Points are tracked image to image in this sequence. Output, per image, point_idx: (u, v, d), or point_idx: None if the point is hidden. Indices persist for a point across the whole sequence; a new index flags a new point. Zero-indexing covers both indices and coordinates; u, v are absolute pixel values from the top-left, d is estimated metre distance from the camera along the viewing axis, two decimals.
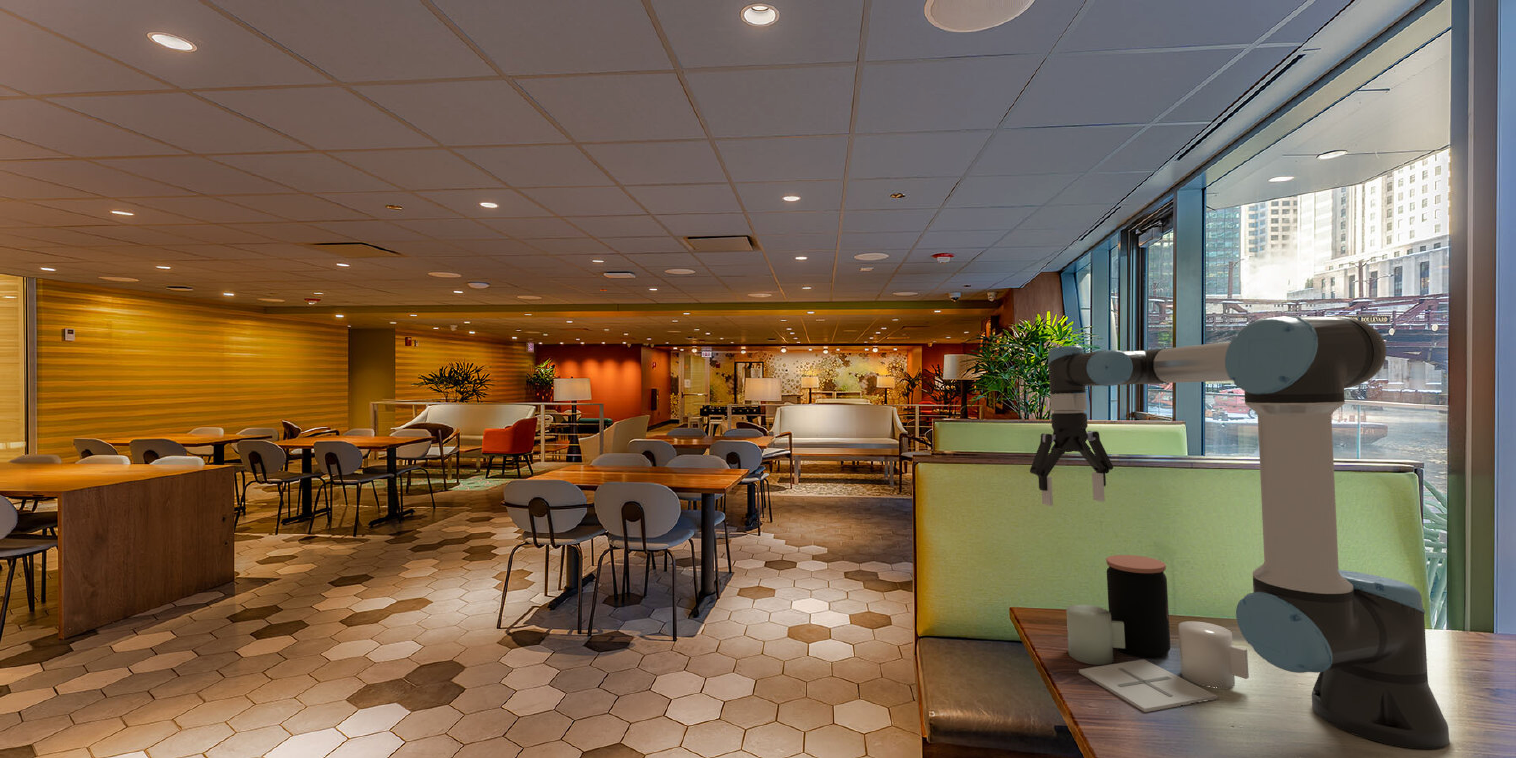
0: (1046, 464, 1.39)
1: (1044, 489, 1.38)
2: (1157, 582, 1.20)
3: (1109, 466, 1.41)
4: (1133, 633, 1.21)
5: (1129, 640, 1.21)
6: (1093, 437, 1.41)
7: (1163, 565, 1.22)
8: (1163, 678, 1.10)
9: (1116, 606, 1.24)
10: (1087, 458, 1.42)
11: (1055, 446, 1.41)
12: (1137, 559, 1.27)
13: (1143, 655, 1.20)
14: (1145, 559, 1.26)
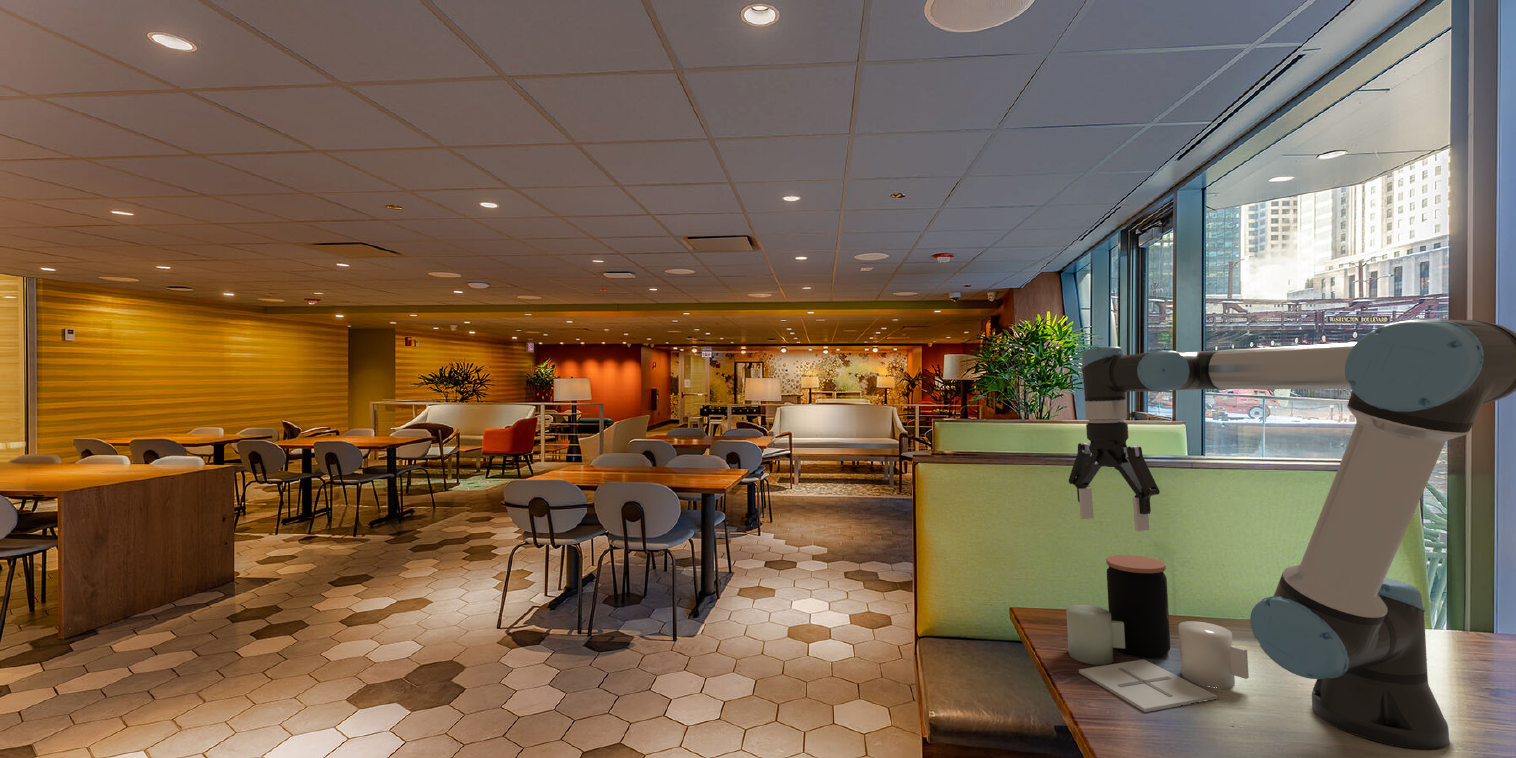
0: None
1: (1079, 501, 1.32)
2: (1157, 582, 1.20)
3: (1145, 491, 1.15)
4: (1133, 633, 1.21)
5: (1129, 640, 1.21)
6: None
7: (1163, 565, 1.22)
8: (1163, 678, 1.10)
9: (1115, 606, 1.24)
10: None
11: None
12: (1137, 559, 1.27)
13: (1143, 655, 1.20)
14: (1145, 559, 1.26)
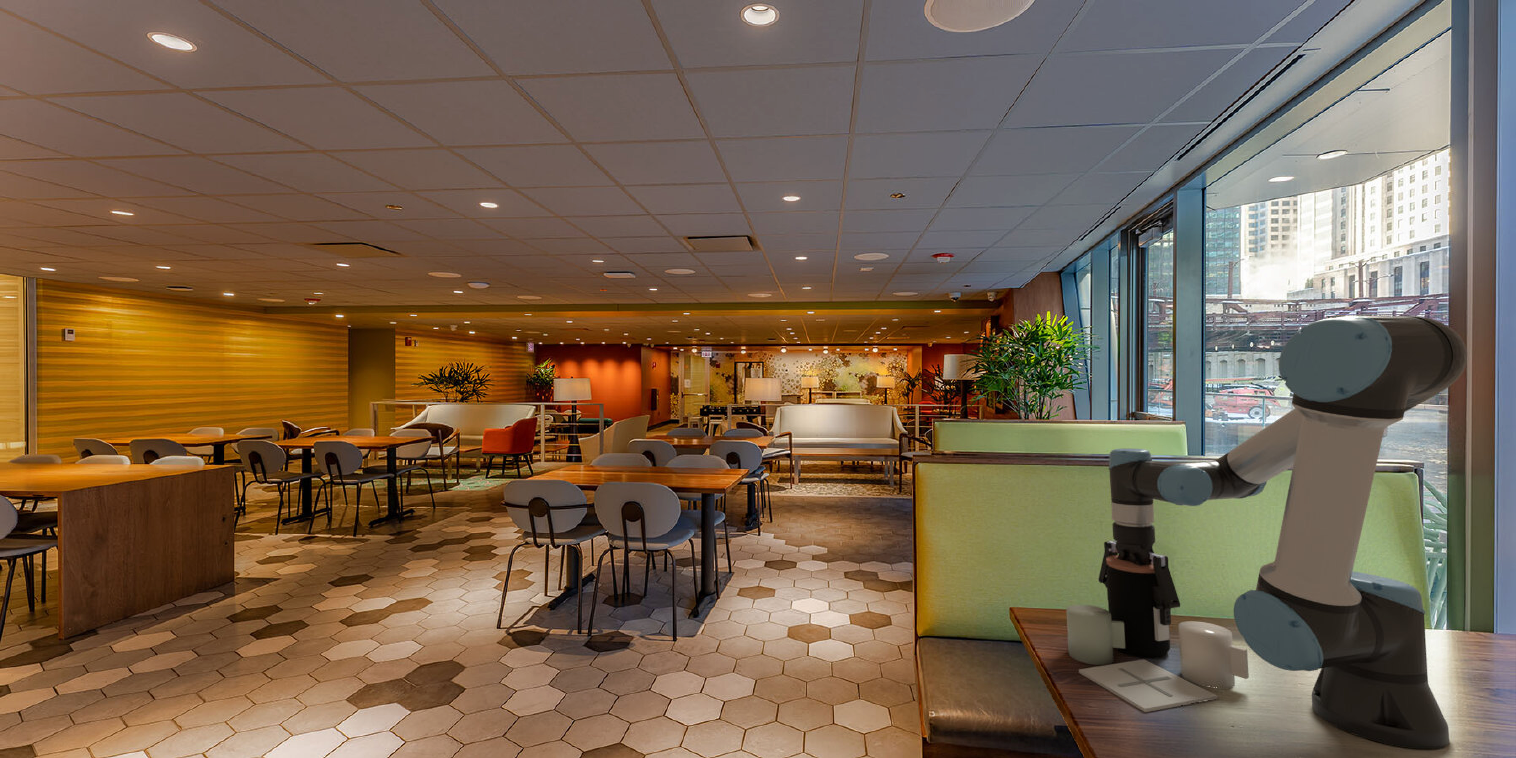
0: None
1: None
2: (1157, 582, 1.20)
3: (1165, 603, 1.17)
4: (1133, 633, 1.21)
5: (1129, 640, 1.21)
6: (1153, 561, 1.20)
7: None
8: (1163, 678, 1.10)
9: (1115, 606, 1.24)
10: None
11: None
12: None
13: (1143, 655, 1.20)
14: None
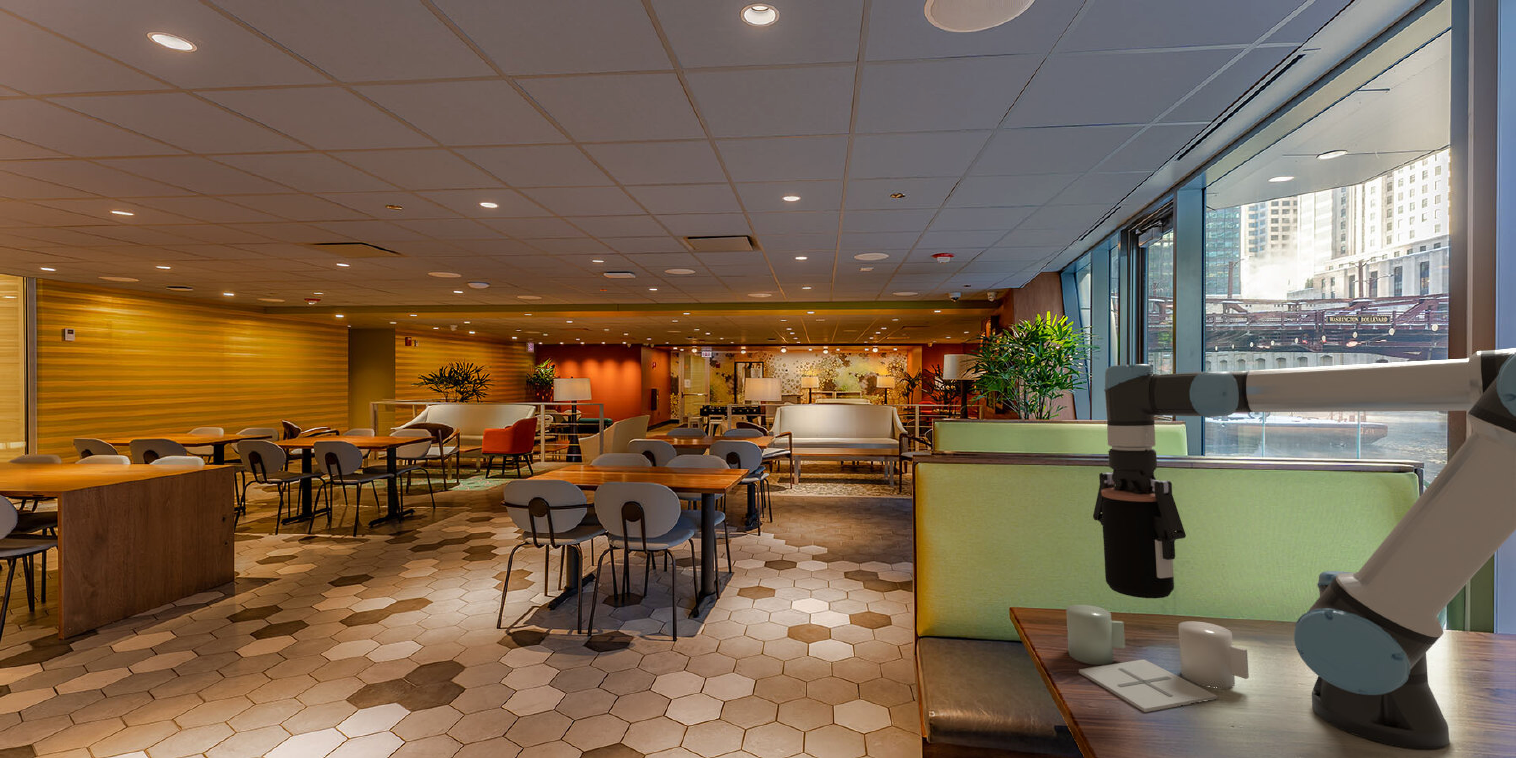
0: None
1: None
2: (1158, 511, 1.05)
3: (1168, 533, 1.02)
4: (1132, 570, 1.06)
5: (1127, 579, 1.07)
6: None
7: None
8: (1163, 678, 1.10)
9: (1112, 542, 1.09)
10: None
11: None
12: None
13: (1143, 595, 1.06)
14: None
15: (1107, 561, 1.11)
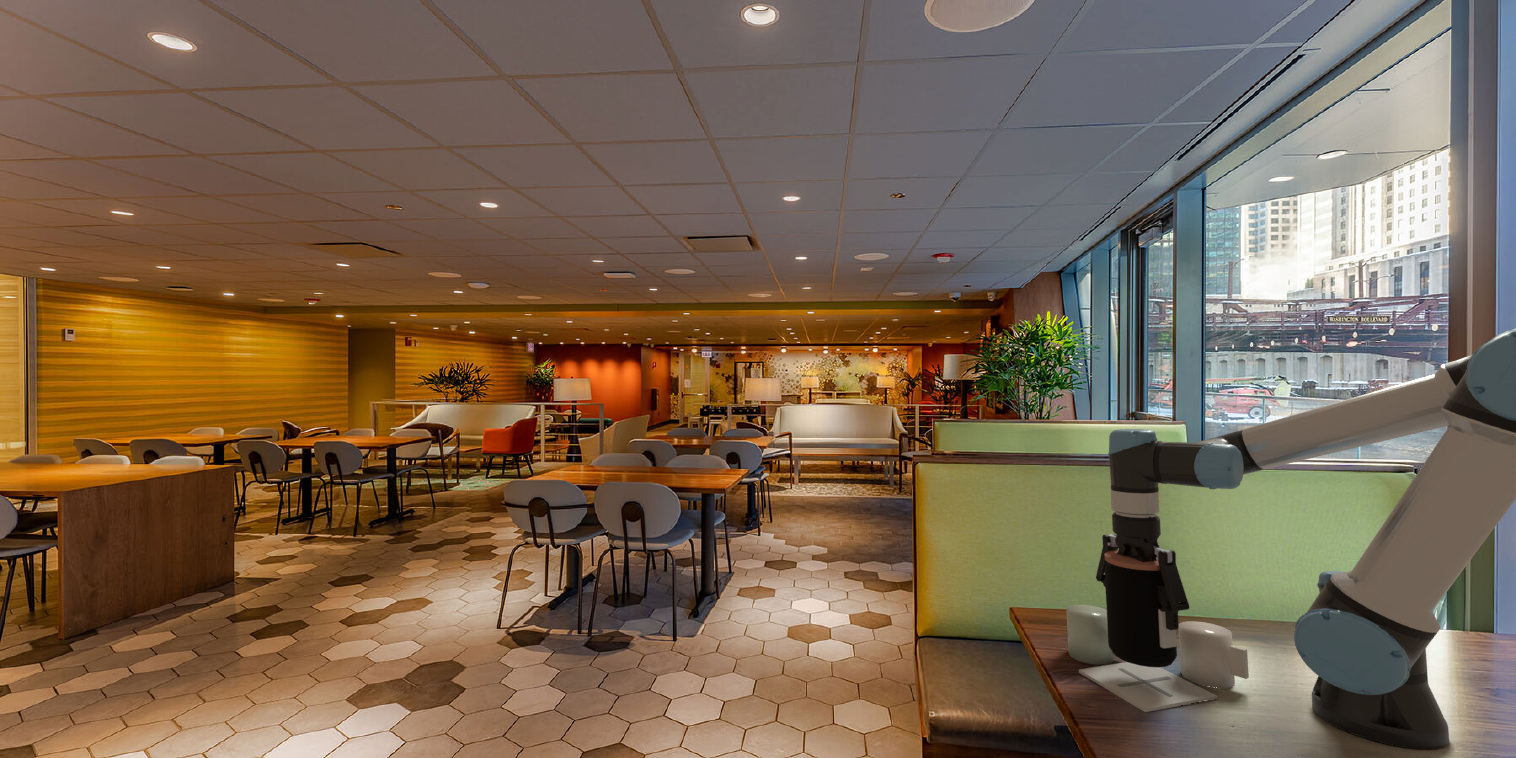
0: None
1: None
2: (1162, 580, 1.05)
3: (1172, 605, 1.02)
4: (1135, 639, 1.06)
5: (1130, 647, 1.06)
6: (1158, 557, 1.05)
7: None
8: (1163, 678, 1.10)
9: (1115, 608, 1.09)
10: None
11: None
12: None
13: (1146, 664, 1.05)
14: None
15: (1110, 626, 1.10)
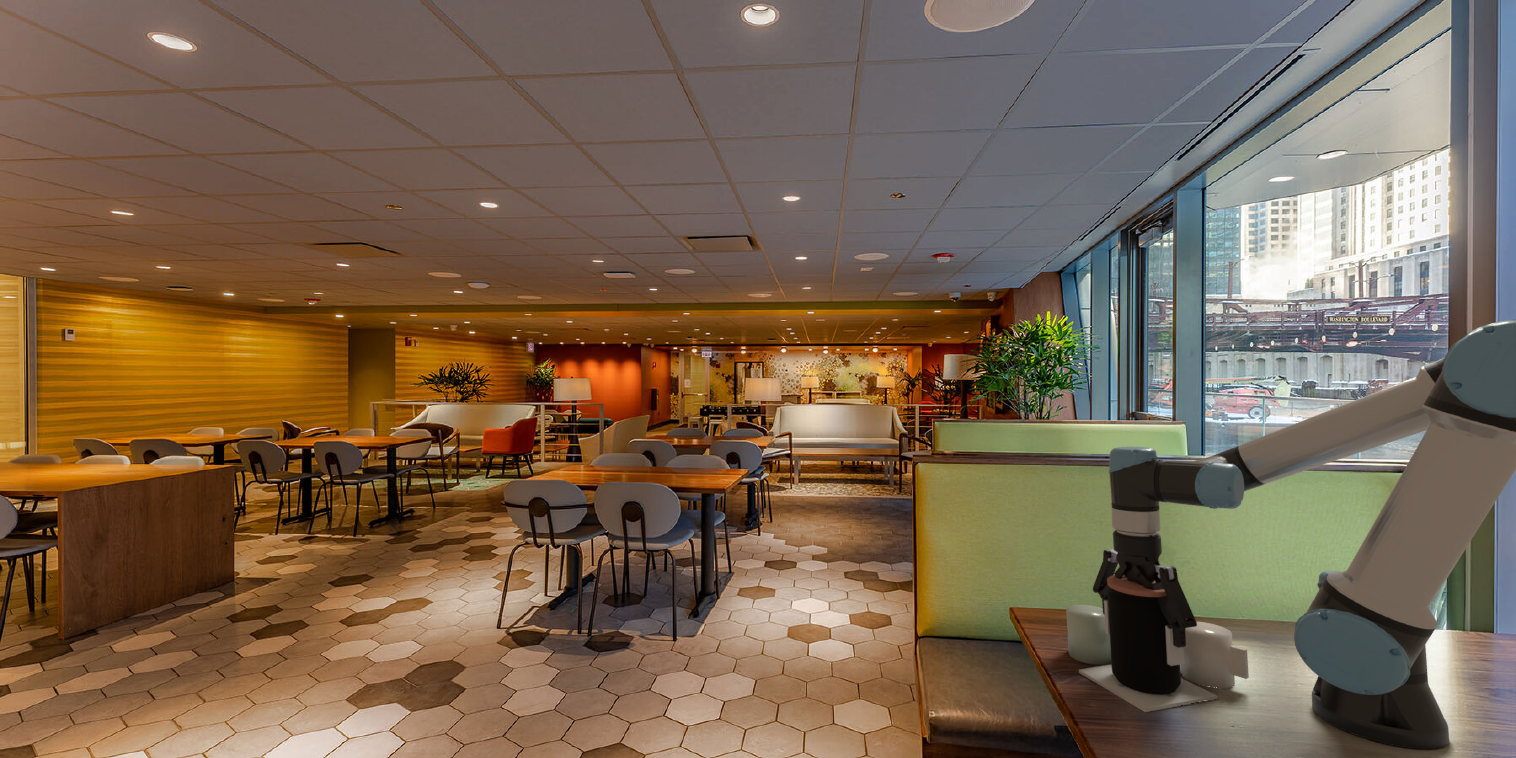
0: None
1: (1104, 613, 1.17)
2: None
3: (1179, 622, 1.01)
4: (1138, 666, 1.05)
5: (1134, 673, 1.06)
6: None
7: None
8: None
9: (1118, 634, 1.08)
10: None
11: None
12: None
13: (1149, 691, 1.05)
14: None
15: (1113, 652, 1.10)
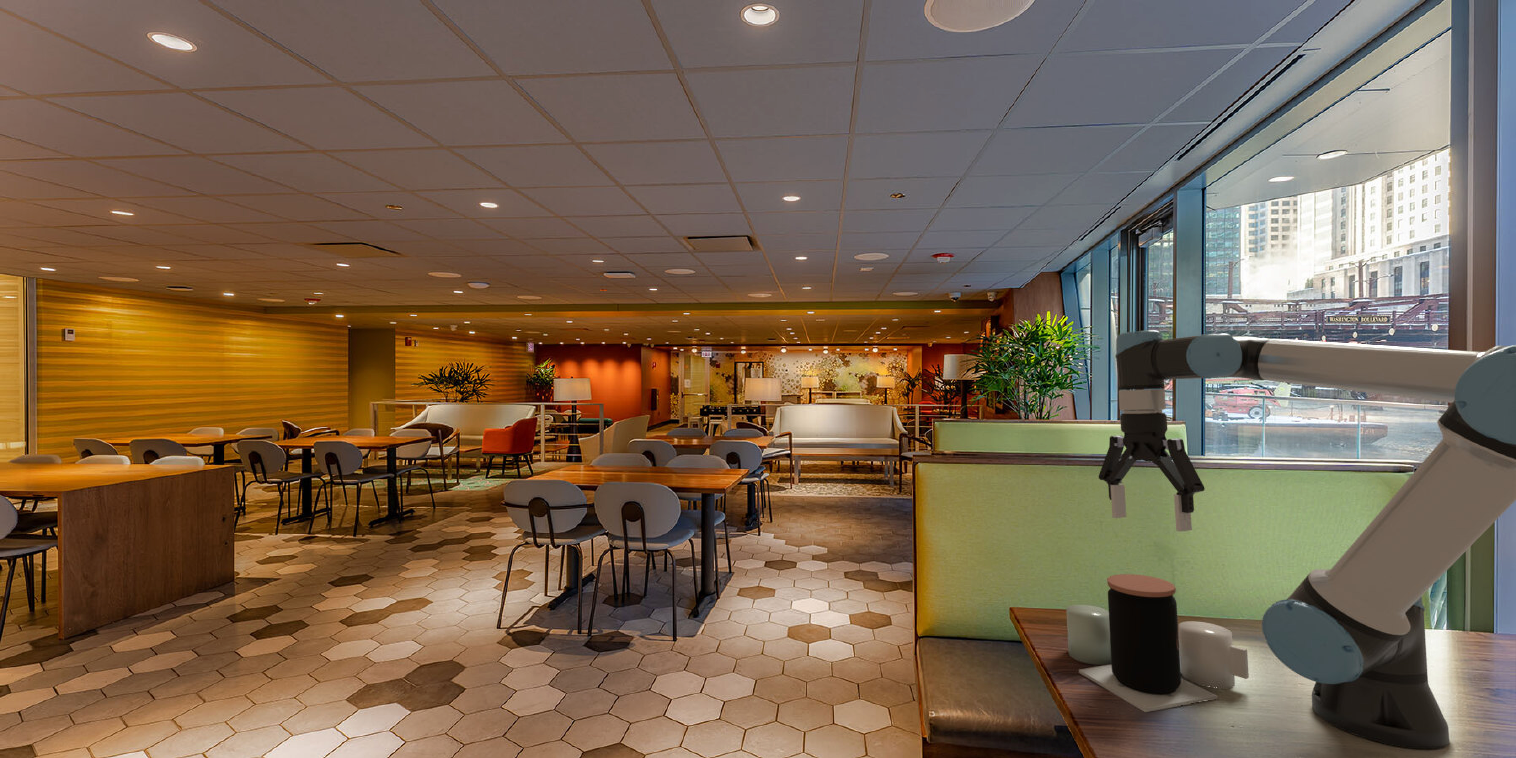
0: None
1: (1110, 498, 1.22)
2: (1165, 607, 1.05)
3: (1188, 487, 1.05)
4: (1138, 666, 1.05)
5: (1134, 673, 1.06)
6: None
7: (1172, 587, 1.06)
8: None
9: (1118, 634, 1.08)
10: None
11: None
12: (1142, 580, 1.11)
13: (1149, 691, 1.05)
14: (1152, 580, 1.11)
15: (1113, 652, 1.10)
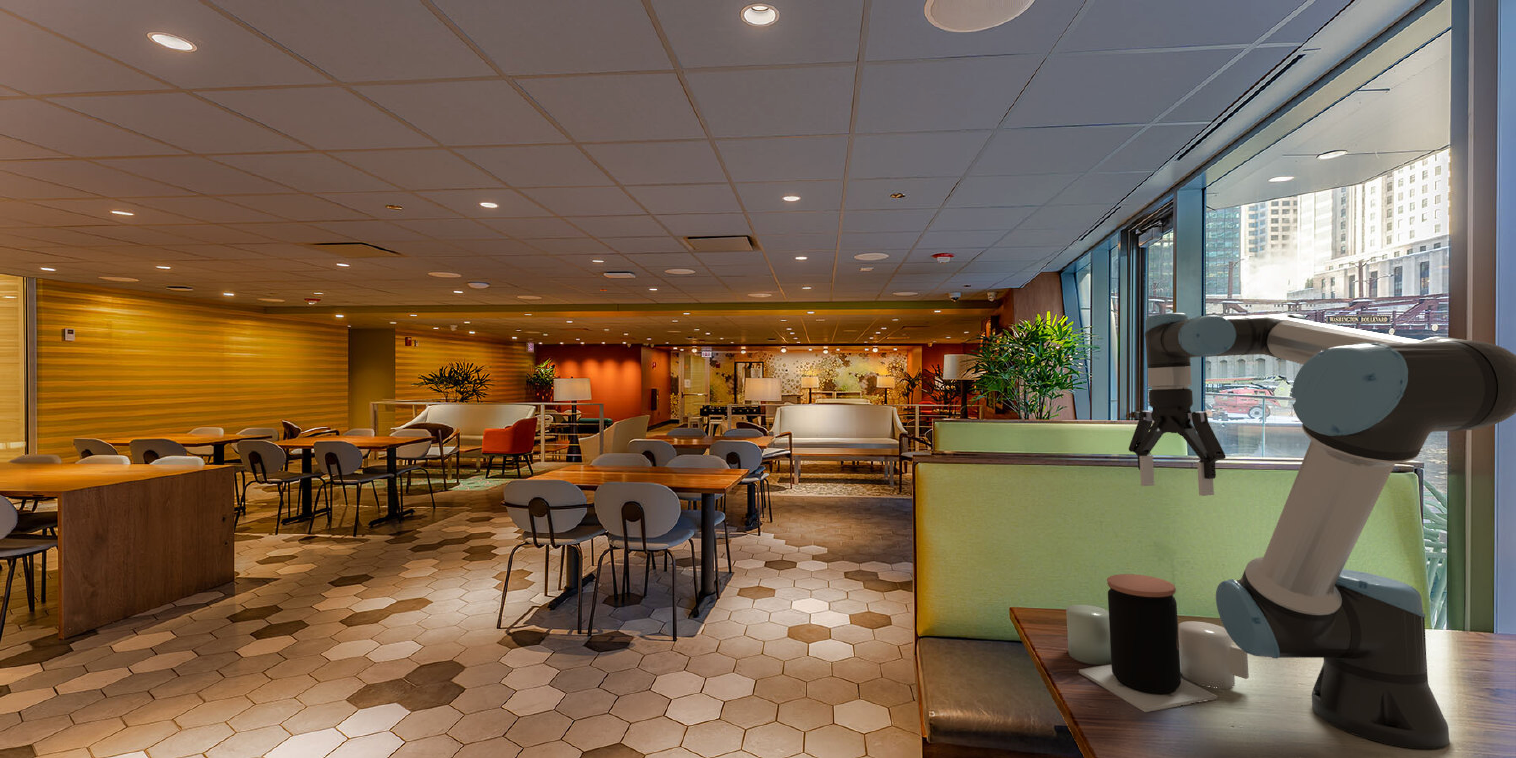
0: None
1: (1139, 468, 1.32)
2: (1165, 607, 1.05)
3: (1210, 455, 1.16)
4: (1138, 666, 1.05)
5: (1134, 673, 1.06)
6: None
7: (1172, 587, 1.06)
8: None
9: (1118, 634, 1.08)
10: None
11: None
12: (1142, 580, 1.11)
13: (1149, 691, 1.05)
14: (1152, 580, 1.11)
15: (1113, 652, 1.10)
